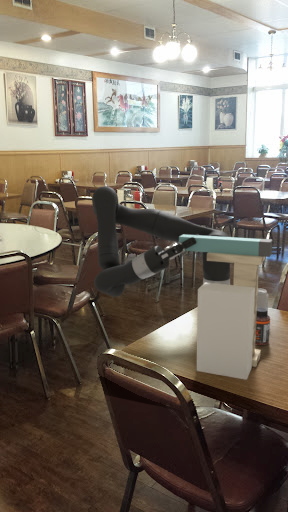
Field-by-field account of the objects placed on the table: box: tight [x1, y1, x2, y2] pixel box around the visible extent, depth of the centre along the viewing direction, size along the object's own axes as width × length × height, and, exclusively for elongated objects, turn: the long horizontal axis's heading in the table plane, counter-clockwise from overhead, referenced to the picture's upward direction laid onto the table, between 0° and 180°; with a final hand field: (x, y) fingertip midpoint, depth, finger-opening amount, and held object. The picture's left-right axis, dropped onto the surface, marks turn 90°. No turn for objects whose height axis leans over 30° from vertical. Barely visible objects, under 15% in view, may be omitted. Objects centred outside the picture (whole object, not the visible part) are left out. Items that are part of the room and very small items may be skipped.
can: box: [257, 287, 270, 314], centre depth 167 cm, size 8×8×12 cm
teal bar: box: [179, 234, 273, 258], centre depth 134 cm, size 4×26×4 cm, turn 67°
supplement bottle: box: [255, 307, 271, 346], centre depth 149 cm, size 6×6×11 cm
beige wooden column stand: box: [207, 252, 266, 368], centre depth 136 cm, size 8×15×32 cm, turn 67°
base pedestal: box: [196, 282, 255, 381], centre depth 129 cm, size 7×14×24 cm, turn 67°
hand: (197, 238), depth 136 cm, fingers closed on teal bar, 4 cm apart
